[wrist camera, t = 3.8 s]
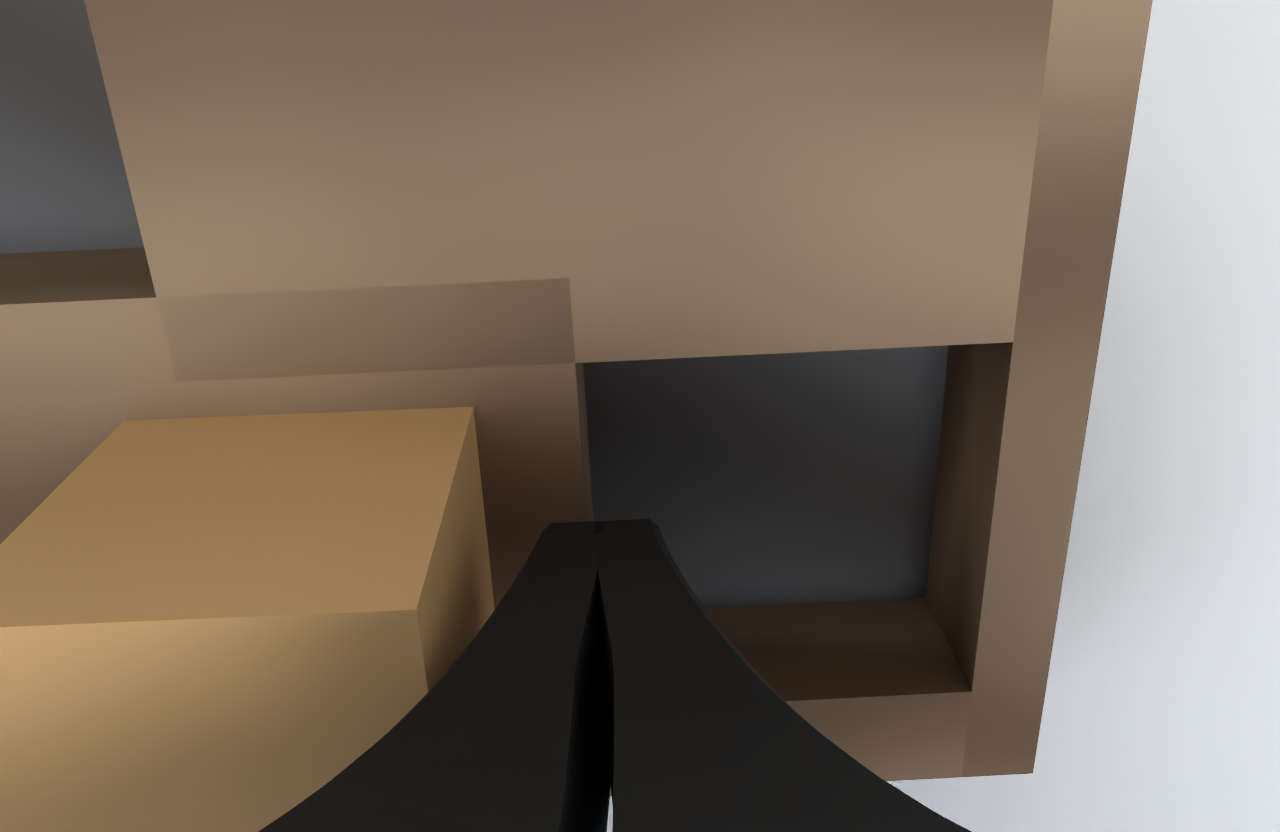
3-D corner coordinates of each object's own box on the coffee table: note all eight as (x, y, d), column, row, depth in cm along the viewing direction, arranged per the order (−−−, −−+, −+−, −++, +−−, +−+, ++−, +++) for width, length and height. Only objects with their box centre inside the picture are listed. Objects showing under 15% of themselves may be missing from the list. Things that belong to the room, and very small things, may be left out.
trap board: (975, 661, 17) (1032, 773, 15) (-209, 722, 17) (-337, 846, 14) (1101, -409, 11) (1230, -499, 9) (-717, -338, 11) (-1071, -412, 9)
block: (502, 684, 14) (465, 955, 10) (196, 698, 14) (47, 974, 10) (473, 406, 12) (416, 609, 8) (123, 420, 12) (-87, 630, 8)
